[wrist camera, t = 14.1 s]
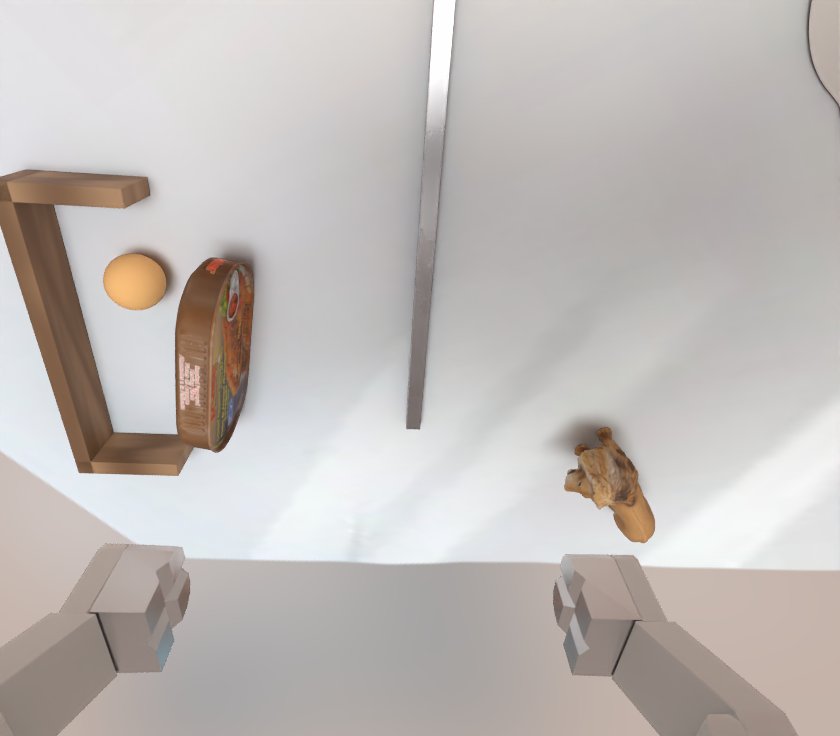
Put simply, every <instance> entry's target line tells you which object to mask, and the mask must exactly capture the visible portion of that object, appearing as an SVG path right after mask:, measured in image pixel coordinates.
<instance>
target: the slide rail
mask: <svg viewBox="0 0 840 736" xmlns="http://www.w3.org/2000/svg"><path fill="white" fill-rule="evenodd" d="M454 9H455V0H434V4H433V19H432V34H431V50H430V65H429V80H428V95H427V111H426V126H425V141H424V156H423V172H422V187H421V202H420V217H419V232H418V248H417V263H416V278H415V293H414V309H413V324H412V339H411V354H410V370H409V385H408V400H407V415H406V429H420V424H421V411H422V399H423V387H424V375H425V363H426V350H427V338H428V326H429V314H430V302H431V289H432V277H433V265H434V253H435V241H436V228H437V216H438V204H439V192H440V180H441V167H442V155H443V143H444V131H445V119H446V106H447V94H448V82H449V70H450V58H451V45H452V33H453V21H454Z"/></svg>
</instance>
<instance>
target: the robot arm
mask: <svg viewBox="0 0 840 736" xmlns="http://www.w3.org/2000/svg"><path fill="white" fill-rule="evenodd" d="M809 42H810V50H811V55H812V60H813V63H814V66H815V69H816V71H817V74H818V76H819V78H820V80H821V81H822V83H823V84H824V86H825V87H826V89H827V90H828V91H829V92H830V94H831V95H832V96H833V97H834V99H835V100H836V101H837V103H838V104H839V106H840V0H812V3H811V10H810V19H809ZM184 560H185V555H184V551H183V548H182V547H177V546H156V545H135V544H105V545H103V546H102V547H101V548H100V549H99V550H98V551H97V552H96V554H95V556H94V557H93V559H92V560H91V562H90V564H89V565H88V567H87V568H86V570H85V571H84V573H83V575H82V576H81V578H80V579H79V581H78V583H77V584H76V586H75V587H74V589H73V591H72V592H71V594H70V595H69V597H68V599H67V600H66V602H65V603H64V605H63V607H62V608H61V610H60V611H59V613H50V614H48V615H47V616H46V617H44V618H43V619H41V620H40V621H39V622H37V623H36V624H34V625H33V626H31V627H30V628H28V629H27V630H25V631H24V632H22V633H21V634H20V635H18V636H17V637H15V638H14V639H12V640H11V641H9V642H8V643H7V644H5V645H4V646H2V647H1V648H0V736H57V735H58V734H59V733H60V732H61V731H62V730H63V729H64V728H65V727H66V726H67V725H68V724H69V723H70V722H71V721H72V720H73V719H74V718H75V717H76V716H77V715H78V714H79V713H80V712H81V711H82V710H83V709H84V708H85V707H86V706H87V705H88V704H89V703H90V702H91V701H92V700H93V699H94V698H95V697H96V696H97V695H98V694H99V693H100V692H101V691H102V690H103V689H104V688H105V687H106V686H107V685H108V684H109V683H110V682H111V681H112V680H113V679H114V678H115V677H116V676H117V673H135V672H136V673H137V672H162V670H163V667H164V665H165V662H166V660H167V657H168V655H169V652H170V650H171V647H172V645H173V642H174V637H173V633H172V628H173V627H174V626H176V625H177V624H178V623H179V622H180V621H182V619H183V617H184V614H185V611H186V609H187V605H188V600H189V595H190V579H189V574H188V572H186V571H185V570H184V569H183V568H182V565H183V563H184ZM560 568H561V571H562V574H563V575H562V576H560V577H559V578H558V579H557V580H556V582H555V586H554V591H553V605H554V611H555V616H556V620H557V623H558V626H559V627H560V628H561V629H562V630H563V631H564V632H565V633H566V634H567V635H566V638H565V641H564V644H563V645H564V649H565V652H566V655H567V659H568V662H569V666H570V669H571V673H572V675H584V676H585V675H586V676H612V679H613V681H614V682H615V683H616V684H617V685H618V687H619V688H620V689H621V690H622V691H623V692H624V694H625V695H626V696H627V697H628V698H629V700H630V701H631V702H632V703H633V704H634V705H635V707H636V708H637V709H638V710H639V711H640V713H641V714H642V715H643V716H644V717H645V718H646V720H647V721H648V722H649V723H650V724H651V726H652V727H653V728H654V729H655V730H656V731H657V733H658V734H659V735H660V736H798V734H797V733H796V731H795V729H794V728H793V726H792V724H791V723H790V721H789V719H788V717H787V716H786V714H785V713H784V712H783V711H782V710H781V709H779V708H778V707H777V706H776V705H775V704H773V703H772V702H771V701H770V700H769V699H767V698H766V697H765V696H764V695H762V694H761V693H760V692H759V691H757V689H755V688H754V687H753V686H752V685H751V684H749V683H748V682H747V681H746V680H745V679H743V678H742V677H741V676H740V675H739V674H737V673H736V672H735V671H734V670H732V669H731V668H730V667H729V666H728V665H726V664H725V663H724V662H723V661H722V660H720V659H719V658H718V657H717V656H716V655H714V654H713V653H712V652H711V651H710V650H708V649H707V648H706V647H705V646H704V645H702V644H701V643H700V642H699V641H697V640H696V639H695V638H694V637H693V636H691V635H690V634H689V633H688V632H687V631H686V630H684V629H683V628H682V627H681V626H680V625H678V624H677V623H676V622H670V621H669V622H668V620H667V618H666V616H665V614H664V612H663V610H662V608H661V606H660V604H659V602H658V600H657V598H656V596H655V594H654V592H653V590H652V588H651V586H650V584H649V582H648V580H647V578H646V575H645V574H644V571H643V570H642V567H641V565H640V563H639V561H638V559H637V558H636V557H635V556H633V555H601V554H565V555H564V557H563V558H562V561H561V564H560Z"/></svg>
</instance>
